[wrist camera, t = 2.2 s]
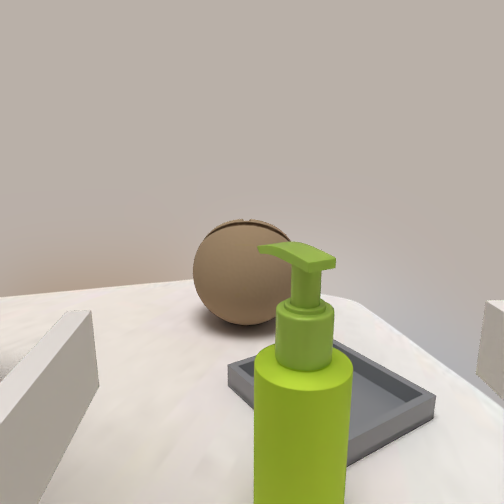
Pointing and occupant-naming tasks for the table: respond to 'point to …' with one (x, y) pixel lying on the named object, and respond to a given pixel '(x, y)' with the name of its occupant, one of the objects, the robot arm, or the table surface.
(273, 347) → the soap dispenser
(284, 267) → the tan ball
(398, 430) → the tray
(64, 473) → the table surface
